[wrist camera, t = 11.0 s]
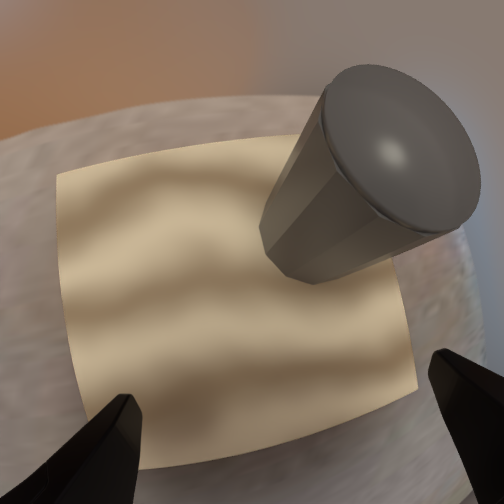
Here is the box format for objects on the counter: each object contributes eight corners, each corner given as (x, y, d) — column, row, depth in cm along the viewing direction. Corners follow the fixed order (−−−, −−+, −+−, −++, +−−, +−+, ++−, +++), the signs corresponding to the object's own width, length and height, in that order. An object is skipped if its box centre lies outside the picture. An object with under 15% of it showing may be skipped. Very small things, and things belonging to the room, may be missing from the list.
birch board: (411, 387, 22) (418, 389, 21) (109, 466, 17) (106, 471, 16) (344, 138, 26) (348, 132, 25) (61, 180, 21) (57, 174, 20)
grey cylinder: (369, 270, 22) (500, 215, 10) (275, 294, 21) (370, 247, 9) (341, 178, 24) (433, 74, 12) (249, 190, 22) (297, 58, 10)
